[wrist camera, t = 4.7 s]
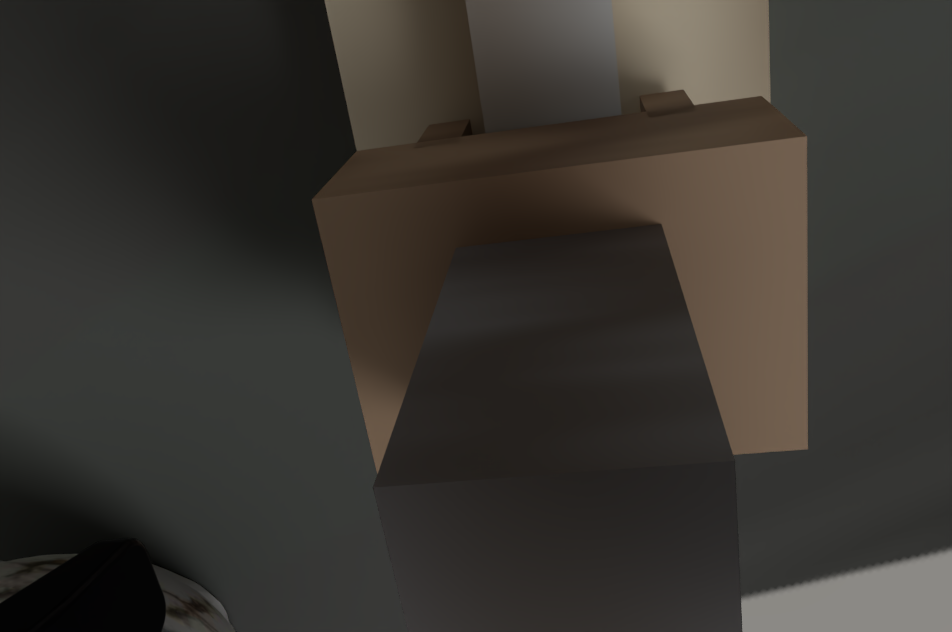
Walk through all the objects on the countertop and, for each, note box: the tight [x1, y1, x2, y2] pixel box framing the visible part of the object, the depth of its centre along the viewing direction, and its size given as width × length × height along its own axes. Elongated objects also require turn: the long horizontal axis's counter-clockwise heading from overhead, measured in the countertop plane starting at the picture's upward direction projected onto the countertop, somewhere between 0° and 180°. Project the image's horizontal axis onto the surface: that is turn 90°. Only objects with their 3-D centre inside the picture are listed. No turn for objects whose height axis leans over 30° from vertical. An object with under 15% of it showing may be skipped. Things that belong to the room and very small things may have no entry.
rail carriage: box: [312, 90, 808, 632], centre depth 12 cm, size 7×5×10 cm
